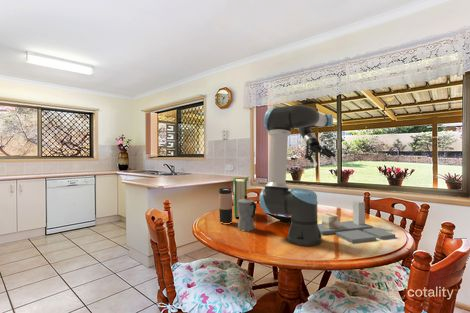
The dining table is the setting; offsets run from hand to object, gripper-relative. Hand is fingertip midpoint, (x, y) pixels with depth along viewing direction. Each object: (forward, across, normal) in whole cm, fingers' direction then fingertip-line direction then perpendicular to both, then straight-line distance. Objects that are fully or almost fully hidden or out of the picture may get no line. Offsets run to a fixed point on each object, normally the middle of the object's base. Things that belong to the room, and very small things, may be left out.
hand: (326, 165), depth 147 cm
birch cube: (+33, +9, -11) cm, 36 cm away
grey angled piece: (+34, +3, -12) cm, 36 cm away
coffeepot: (+24, +50, -22) cm, 60 cm away
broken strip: (+44, 0, -2) cm, 44 cm away
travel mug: (+13, +58, -33) cm, 68 cm away
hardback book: (+2, +45, -44) cm, 63 cm away
